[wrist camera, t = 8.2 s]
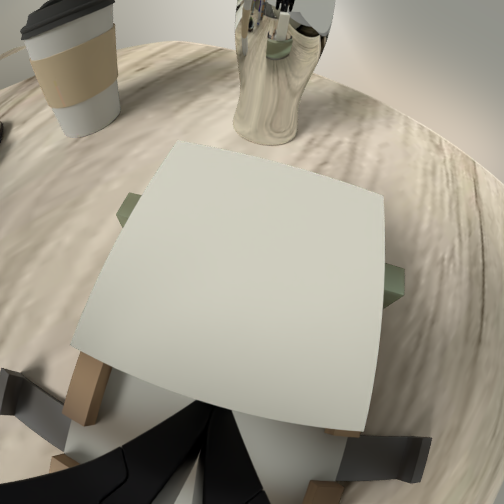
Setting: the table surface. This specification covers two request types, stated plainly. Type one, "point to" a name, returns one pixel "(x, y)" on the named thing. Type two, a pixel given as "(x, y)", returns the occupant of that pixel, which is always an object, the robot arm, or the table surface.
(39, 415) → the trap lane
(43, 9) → the coffee cup
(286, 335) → the block
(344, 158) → the table surface
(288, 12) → the beer glass
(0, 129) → the salad plate
